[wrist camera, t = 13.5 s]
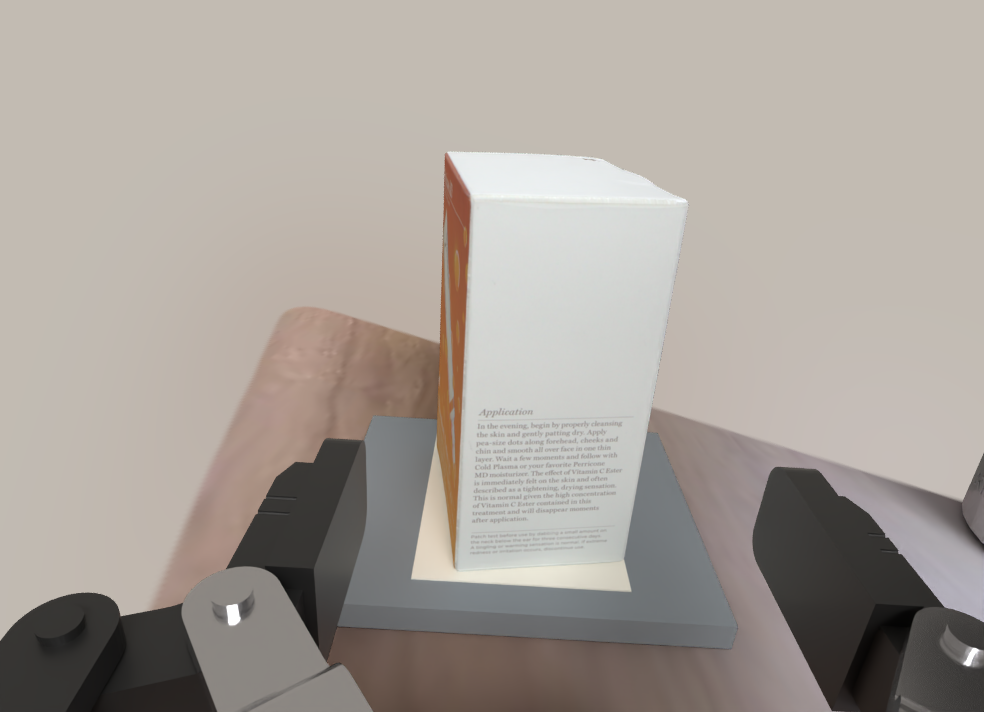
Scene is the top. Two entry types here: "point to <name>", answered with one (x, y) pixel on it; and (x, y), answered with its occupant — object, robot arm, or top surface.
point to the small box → (548, 353)
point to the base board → (532, 590)
